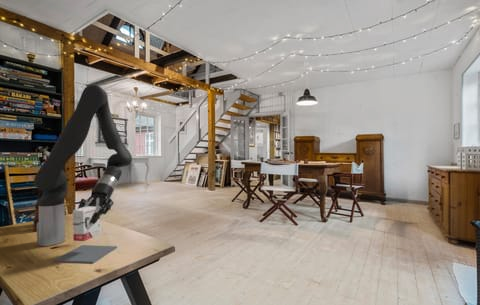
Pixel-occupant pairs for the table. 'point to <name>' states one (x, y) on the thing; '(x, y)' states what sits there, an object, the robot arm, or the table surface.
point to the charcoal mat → (85, 254)
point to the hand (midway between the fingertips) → (85, 222)
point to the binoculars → (37, 211)
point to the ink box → (85, 223)
